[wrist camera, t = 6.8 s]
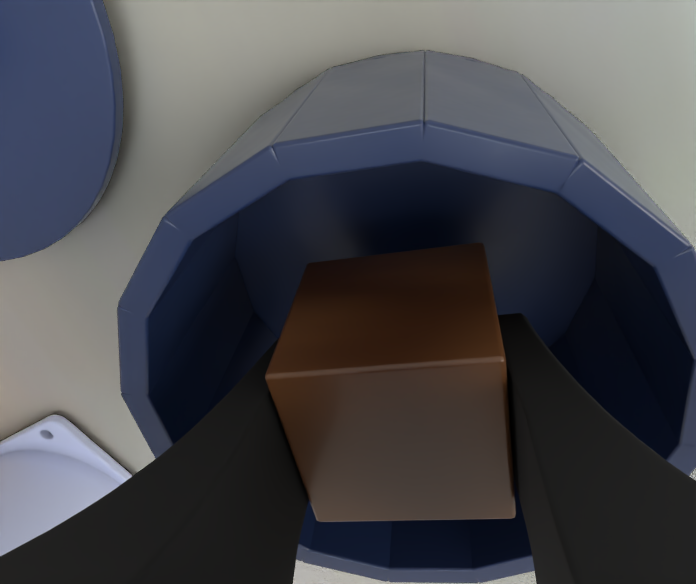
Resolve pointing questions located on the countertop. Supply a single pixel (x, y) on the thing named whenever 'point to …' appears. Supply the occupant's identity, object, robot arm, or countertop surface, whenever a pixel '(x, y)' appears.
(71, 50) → the tin lid
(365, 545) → the tin
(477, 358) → the walnut block
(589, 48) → the countertop surface
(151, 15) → the countertop surface
